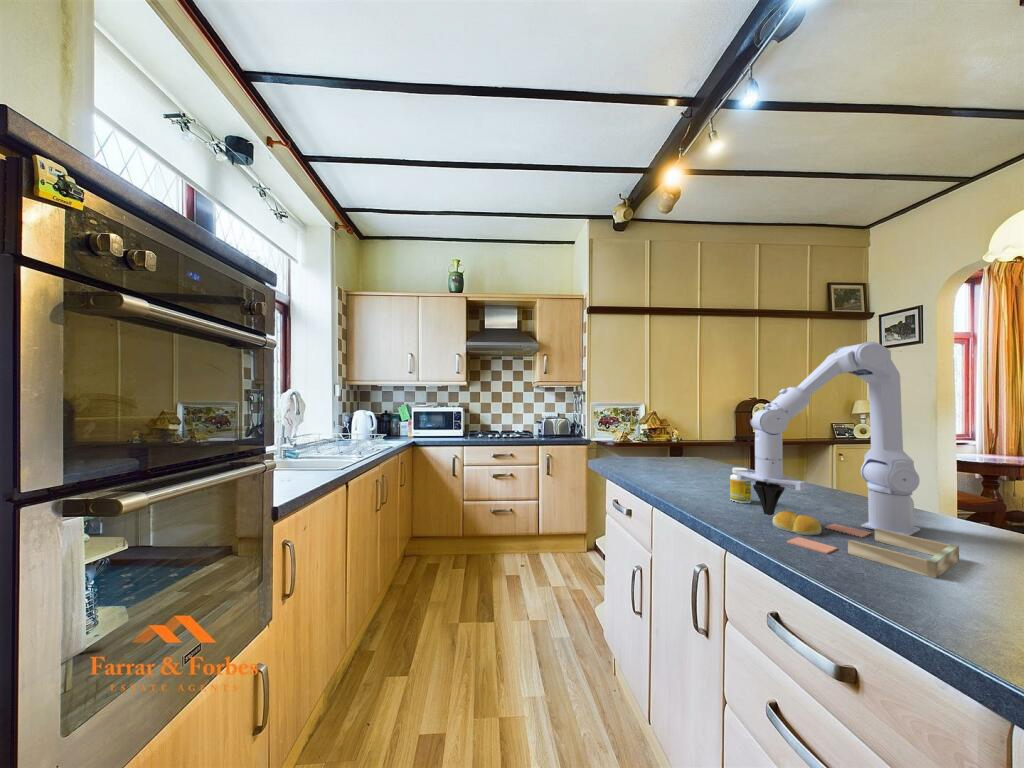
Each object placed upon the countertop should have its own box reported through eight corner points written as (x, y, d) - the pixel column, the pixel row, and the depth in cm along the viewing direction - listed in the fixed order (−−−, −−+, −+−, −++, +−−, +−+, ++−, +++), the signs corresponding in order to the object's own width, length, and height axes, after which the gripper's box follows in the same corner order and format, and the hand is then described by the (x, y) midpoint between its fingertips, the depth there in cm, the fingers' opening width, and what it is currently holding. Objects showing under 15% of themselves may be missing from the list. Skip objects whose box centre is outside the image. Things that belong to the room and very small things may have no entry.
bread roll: (816, 539, 86) (816, 521, 86) (769, 528, 92) (769, 511, 92) (825, 531, 91) (825, 514, 91) (780, 521, 98) (780, 505, 98)
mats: (833, 524, 95) (833, 523, 95) (871, 533, 89) (871, 532, 89) (786, 542, 83) (786, 541, 83) (826, 554, 77) (826, 552, 77)
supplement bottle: (733, 498, 119) (733, 466, 119) (753, 501, 115) (753, 468, 116) (727, 501, 115) (727, 468, 116) (747, 505, 112) (747, 471, 112)
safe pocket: (876, 539, 85) (876, 527, 85) (959, 560, 75) (958, 545, 75) (847, 553, 77) (847, 539, 77) (935, 578, 67) (935, 562, 67)
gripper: (730, 455, 101) (730, 508, 101) (794, 464, 89) (794, 525, 88) (745, 453, 105) (745, 505, 104) (808, 461, 92) (809, 520, 92)
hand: (768, 514), depth 97 cm, fingers closed
